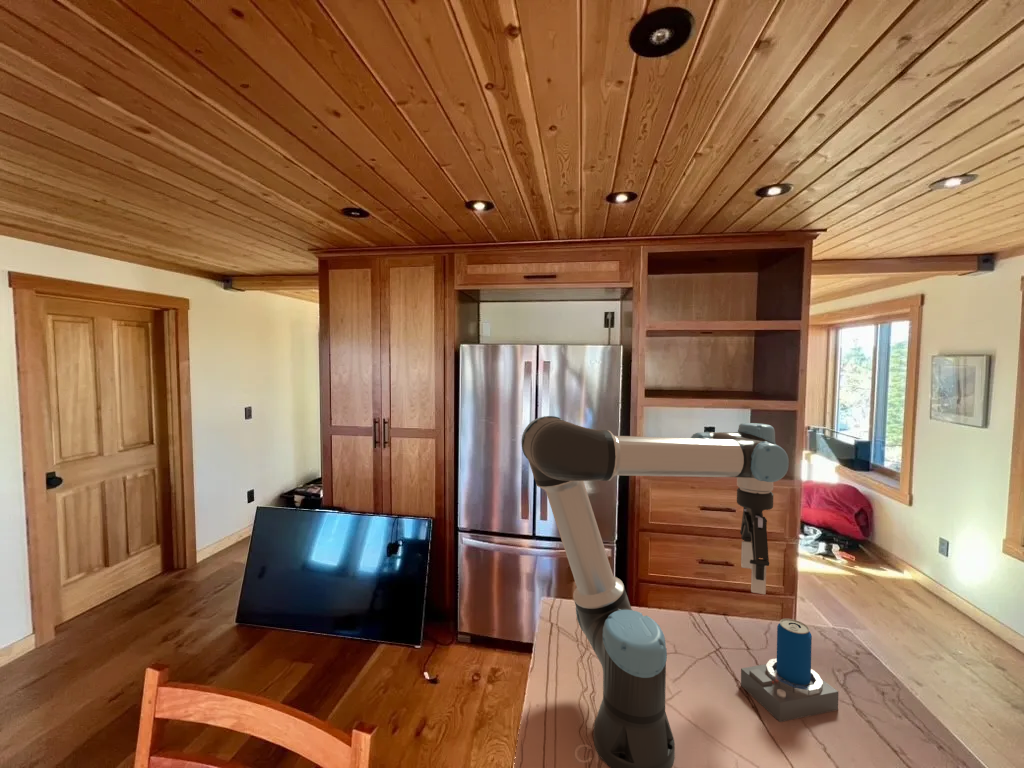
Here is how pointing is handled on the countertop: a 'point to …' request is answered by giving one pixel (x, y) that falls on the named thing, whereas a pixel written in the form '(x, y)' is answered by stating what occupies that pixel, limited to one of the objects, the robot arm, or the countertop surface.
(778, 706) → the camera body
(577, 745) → the countertop surface
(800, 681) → the beverage can
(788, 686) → the mount ring
